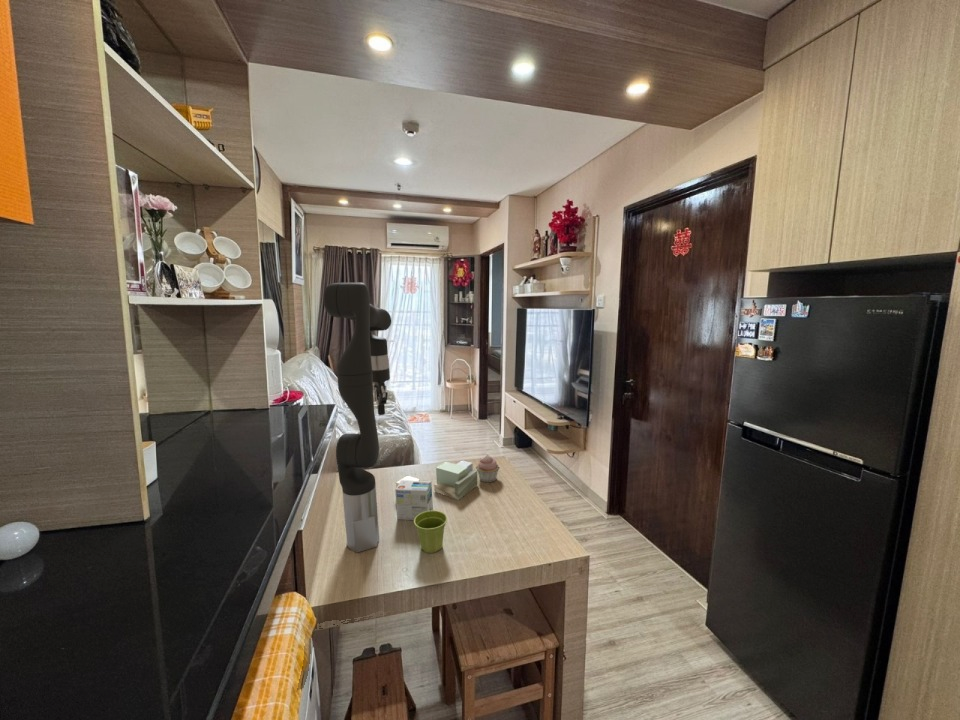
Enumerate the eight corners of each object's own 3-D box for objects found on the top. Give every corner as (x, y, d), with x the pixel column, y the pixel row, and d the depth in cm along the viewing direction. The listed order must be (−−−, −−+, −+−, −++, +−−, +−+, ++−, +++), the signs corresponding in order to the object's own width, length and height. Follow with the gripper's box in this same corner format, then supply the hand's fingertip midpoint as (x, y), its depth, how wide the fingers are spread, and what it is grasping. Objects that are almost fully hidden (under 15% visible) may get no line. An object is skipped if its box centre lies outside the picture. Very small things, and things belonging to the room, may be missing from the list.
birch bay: (477, 485, 150) (477, 470, 149) (458, 500, 140) (458, 484, 139) (453, 478, 156) (453, 464, 154) (434, 491, 146) (433, 476, 145)
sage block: (468, 487, 149) (467, 467, 147) (458, 494, 144) (458, 473, 142) (446, 480, 154) (445, 461, 153) (436, 487, 149) (436, 467, 148)
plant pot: (418, 536, 120) (417, 510, 118) (449, 536, 120) (448, 510, 118) (412, 557, 111) (410, 529, 109) (446, 557, 110) (445, 529, 109)
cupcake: (493, 471, 161) (492, 448, 159) (504, 481, 153) (503, 456, 151) (471, 476, 157) (471, 452, 155) (482, 486, 149) (481, 461, 147)
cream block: (420, 495, 144) (420, 479, 143) (409, 502, 139) (408, 486, 138) (408, 490, 147) (407, 475, 146) (396, 497, 142) (395, 482, 141)
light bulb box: (433, 509, 134) (432, 480, 132) (429, 521, 128) (427, 490, 126) (402, 508, 135) (400, 479, 133) (396, 520, 129) (394, 489, 127)
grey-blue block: (472, 474, 159) (472, 463, 158) (465, 479, 155) (465, 467, 154) (462, 471, 161) (462, 460, 160) (455, 476, 157) (454, 465, 156)
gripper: (393, 369, 136) (396, 417, 139) (384, 363, 148) (387, 407, 151) (371, 371, 133) (375, 421, 136) (363, 365, 144) (367, 411, 148)
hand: (381, 414), depth 144 cm, fingers closed
